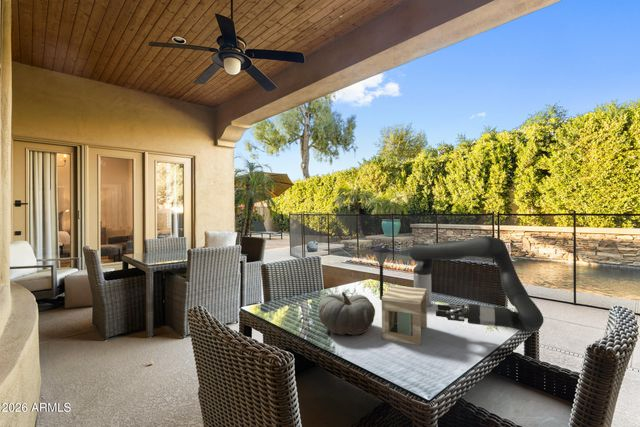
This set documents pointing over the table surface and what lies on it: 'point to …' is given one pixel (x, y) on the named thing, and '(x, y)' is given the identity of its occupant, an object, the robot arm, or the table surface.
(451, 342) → the table surface
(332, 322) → the gourd
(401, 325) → the block
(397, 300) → the box
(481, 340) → the table surface
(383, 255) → the solar garden light
